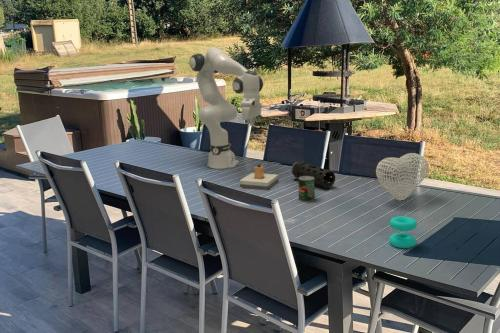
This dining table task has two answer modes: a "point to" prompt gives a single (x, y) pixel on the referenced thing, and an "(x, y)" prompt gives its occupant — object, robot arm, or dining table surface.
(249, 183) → the socket block
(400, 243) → the donuts
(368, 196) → the dining table surface
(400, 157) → the heart
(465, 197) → the dining table surface
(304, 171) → the muzzle brake
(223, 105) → the robot arm
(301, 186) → the canned tomato
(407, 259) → the dining table surface
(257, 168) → the plug
